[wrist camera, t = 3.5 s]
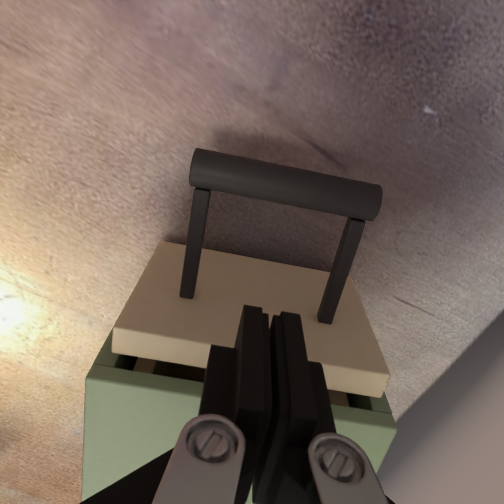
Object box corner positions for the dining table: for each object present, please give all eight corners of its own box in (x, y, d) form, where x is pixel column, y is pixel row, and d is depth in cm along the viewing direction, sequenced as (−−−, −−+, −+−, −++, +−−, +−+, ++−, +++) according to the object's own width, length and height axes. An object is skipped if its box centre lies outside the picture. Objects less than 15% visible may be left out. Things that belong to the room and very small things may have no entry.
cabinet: (150, 258, 23) (84, 377, 15) (349, 295, 24) (398, 429, 15) (132, 429, 29) (77, 588, 20) (294, 455, 30) (307, 618, 21)
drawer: (174, 119, 19) (123, 155, 12) (389, 164, 20) (459, 223, 13) (141, 411, 27) (98, 536, 20) (296, 436, 28) (307, 566, 21)
